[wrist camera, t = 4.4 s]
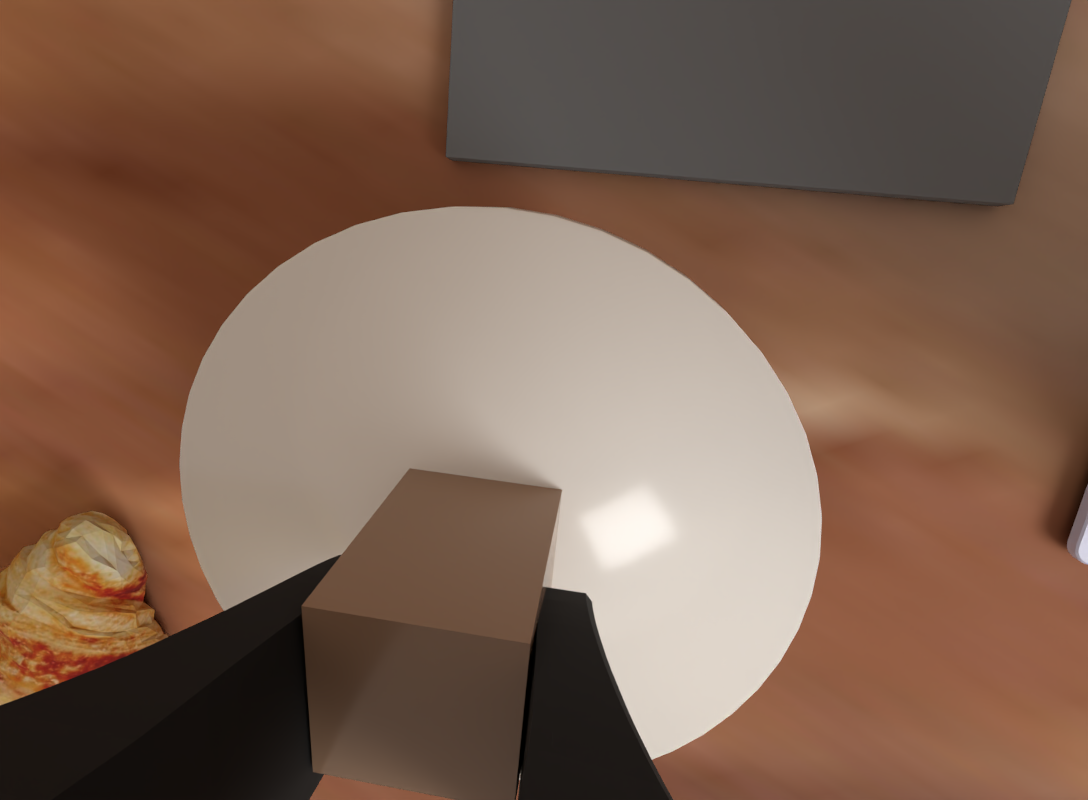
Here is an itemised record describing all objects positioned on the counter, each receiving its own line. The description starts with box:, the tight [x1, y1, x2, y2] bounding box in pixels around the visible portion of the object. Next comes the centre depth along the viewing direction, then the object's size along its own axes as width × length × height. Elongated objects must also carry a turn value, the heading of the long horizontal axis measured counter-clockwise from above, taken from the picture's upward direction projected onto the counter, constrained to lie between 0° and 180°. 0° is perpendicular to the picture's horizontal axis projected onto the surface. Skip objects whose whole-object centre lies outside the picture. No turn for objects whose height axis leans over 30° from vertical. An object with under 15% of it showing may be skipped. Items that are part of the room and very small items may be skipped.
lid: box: [180, 206, 822, 800], centre depth 9 cm, size 11×11×4 cm
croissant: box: [0, 511, 168, 705], centre depth 20 cm, size 21×10×8 cm, turn 165°
